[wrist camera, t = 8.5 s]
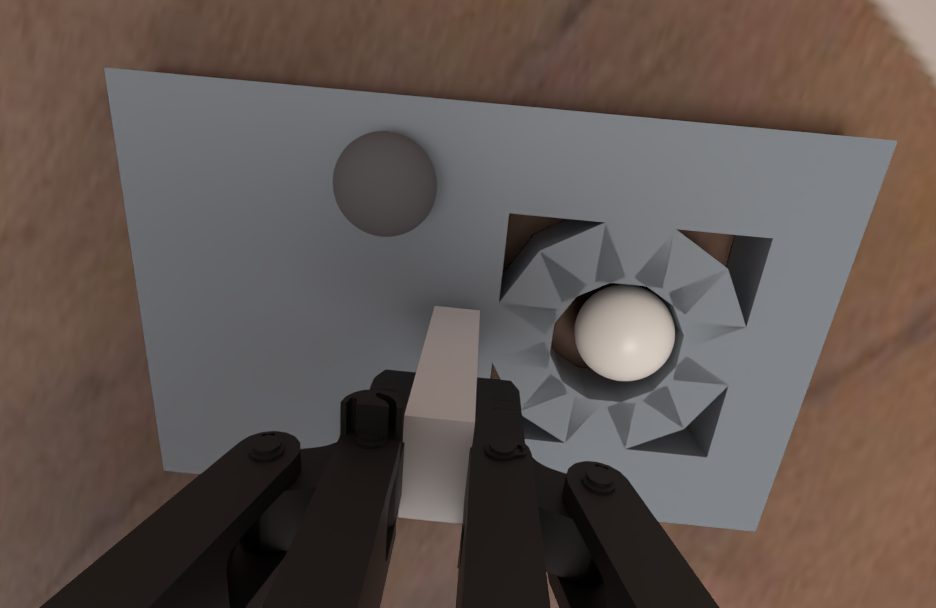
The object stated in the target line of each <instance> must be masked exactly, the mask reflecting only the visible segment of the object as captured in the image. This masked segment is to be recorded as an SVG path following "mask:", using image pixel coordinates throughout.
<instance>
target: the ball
mask: <svg viewBox="0 0 936 608" xmlns="http://www.w3.org/2000/svg"><path fill="white" fill-rule="evenodd" d="M574 337H575V343H576V347H577V349H578V352H579V354H580V356H581V357H582V359H583V360H584V362H585V363H586V364H587V365H588V366H589V367H590V368H591V369H592V370H594V371H595V372H596V373H598V374H600V375H602V376H604V377H606V378H609V379H612V380H616V381H634V380H639V379H642V378H645V377H647V376H649V375H651V374H653V373H654V372H656V371H657V370H658V369H659V368H660V367H662V366H663V364H664V363H665V362H666V360H667V359H668V358H669V356H670V354H671V352H672V349H673V346H674V341H675V326H674V322H673V318H672V316H671V314H670V312H669V310H668V308H667V307H666V305H665V304H664V303H663V302H662V301H661V300H660V298H658V297H657V296H656V295H655V294H653V293H652V292H650V291H648V290H646V289H644V288H641V287H638V286H633V285H614V286H610V287H607V288H604V289H602V290H600V291H598V292H596V293H595V294H593V295H592V296H591V297H590V298H589V299H588V300H587V301H586V302H585V303H584V304H583V306H582V307H581V309H580V311H579V313H578V315H577V318H576V321H575V327H574Z"/></svg>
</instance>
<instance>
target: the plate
mask: <svg viewBox="0 0 936 608" xmlns="http://www.w3.org/2000/svg"><path fill="white" fill-rule="evenodd" d="M104 71H105V77H106V84H107V91H108V98H109V104H110V111H111V118H112V125H113V131H114V138H115V145H116V152H117V158H118V165H119V172H120V179H121V185H122V192H123V199H124V206H125V212H126V219H127V226H128V233H129V239H130V246H131V253H132V260H133V266H134V273H135V280H136V287H137V293H138V300H139V307H140V314H141V320H142V327H143V334H144V341H145V347H146V354H147V361H148V368H149V374H150V381H151V388H152V395H153V401H154V408H155V415H156V422H157V428H158V435H159V442H160V449H161V455H162V462H163V469H164V471H172V472H181V473H191V474H201V473H203V472H204V471H205V470H206V469H207V468H209V467H210V466H211V465H212V464H213V463H215V462H216V461H217V460H218V459H219V458H221V457H222V456H223V455H224V454H225V453H227V452H228V451H229V450H230V449H232V448H233V447H234V446H235V445H236V444H238V443H239V442H240V441H242V440H244V439H245V438H247V437H248V436H251V435H254V434H257V433H260V432H267V431H280V432H287V433H289V434H291V435H293V436H295V437H296V438H297V439H298V440H299V442H300V449H305V448H314V447H321V446H326V445H330V444H333V443H336V442H337V441H338V439H339V437H340V402H341V401H342V400H343V399H344V398H345V397H346V396H347V395H349V394H352V393H354V392H357V391H361V390H370V386H371V384H372V382H373V379H374V377H376V376H377V375H378V374H380V373H381V372H383V371H384V370H385V369H387V370H397V371H406V372H416V371H417V368H418V364H419V360H420V357H421V353H422V350H423V346H424V343H425V339H426V335H427V332H428V328H429V325H430V321H431V317H432V314H433V310H434V307H435V306H441V307H451V308H461V309H471V310H480V321H479V343H478V366H477V377H479V378H489V379H490V376H491V367H492V363H493V365H494V367H495V369H496V371H497V373H498V375H499V377H500V379H501V380H509V381H512V383H513V384H514V385H515V386H516V387H517V389H518V390H519V392H520V401H521V402H520V404H521V410H522V411H521V413H522V419H523V428H524V438H525V444H526V445H527V446H528V447H529V449H530V451H531V453H532V457H533V458H534V459H535V460H536V461H537V462H539V463H541V464H542V465H544V466H546V467H549V468H551V469H554V470H557V471H560V472H563V473H566V474H567V471H568V468H569V467H571V466H572V465H574V464H575V463H578V462H583V461H592V462H599V463H603V464H606V465H609V466H611V467H613V468H614V469H616V470H618V471H620V472H621V473H622V474H623V475H624V476H625V477H626V478H627V479H628V480H629V482H630V483H631V485H632V486H633V487H634V489H635V490H636V492H637V493H638V494H639V496H640V497H641V499H642V500H643V501H644V503H645V504H646V506H647V507H648V508H649V510H650V511H651V513H652V514H653V515H654V517H655V518H656V520H657V521H658V522H668V523H677V524H687V525H697V526H707V527H716V528H726V529H736V530H746V531H755V532H756V529H757V526H758V523H759V521H760V518H761V515H762V512H763V510H764V507H765V504H766V501H767V499H768V496H769V493H770V490H771V488H772V485H773V482H774V479H775V477H776V474H777V471H778V468H779V466H780V463H781V460H782V457H783V455H784V452H785V449H786V446H787V444H788V441H789V438H790V435H791V433H792V430H793V427H794V424H795V422H796V419H797V416H798V413H799V411H800V408H801V405H802V402H803V400H804V397H805V394H806V391H807V389H808V386H809V383H810V380H811V378H812V375H813V372H814V369H815V367H816V364H817V361H818V358H819V356H820V353H821V350H822V347H823V345H824V342H825V339H826V336H827V334H828V331H829V328H830V325H831V323H832V320H833V317H834V314H835V312H836V309H837V306H838V303H839V301H840V298H841V295H842V292H843V290H844V287H845V284H846V281H847V279H848V276H849V273H850V270H851V268H852V265H853V262H854V259H855V257H856V254H857V251H858V248H859V246H860V243H861V240H862V237H863V235H864V232H865V229H866V226H867V224H868V221H869V218H870V215H871V213H872V210H873V207H874V204H875V202H876V199H877V196H878V193H879V191H880V188H881V185H882V182H883V180H884V177H885V174H886V171H887V169H888V166H889V163H890V160H891V158H892V155H893V152H894V149H895V147H896V144H897V141H894V140H883V139H872V138H862V137H851V136H840V135H829V134H818V133H808V132H797V131H786V130H775V129H764V128H753V127H743V126H732V125H721V124H710V123H699V122H689V121H678V120H667V119H656V118H645V117H635V116H624V115H613V114H602V113H591V112H581V111H570V110H559V109H548V108H537V107H527V106H516V105H505V104H494V103H483V102H472V101H462V100H451V99H440V98H429V97H418V96H408V95H397V94H386V93H375V92H364V91H354V90H343V89H332V88H321V87H310V86H300V85H289V84H278V83H267V82H256V81H246V80H235V79H224V78H213V77H202V76H191V75H181V74H170V73H159V72H148V71H137V70H127V69H116V68H105V67H104ZM376 131H389V132H395V133H399V134H402V135H404V136H406V137H408V138H410V139H412V140H413V141H415V142H416V143H417V144H418V145H419V146H420V147H421V148H422V149H423V150H424V151H425V152H426V154H427V155H428V156H429V158H430V160H431V162H432V164H433V167H434V169H435V173H436V178H437V193H436V198H435V202H434V205H433V207H432V209H431V211H430V213H429V215H428V216H427V217H426V219H425V220H424V221H423V222H422V223H421V224H420V225H419V226H417V227H416V228H415V229H413V230H411V231H409V232H407V233H405V234H402V235H398V236H392V237H380V236H375V235H371V234H368V233H366V232H364V231H362V230H360V229H358V228H357V227H355V226H354V225H353V224H352V223H351V222H350V221H348V220H347V218H346V217H345V216H344V215H343V213H342V212H341V210H340V209H339V206H338V204H337V202H336V199H335V196H334V191H333V172H334V168H335V165H336V162H337V160H338V158H339V156H340V154H341V153H342V152H343V150H344V149H345V148H346V147H347V146H348V145H349V144H350V143H351V142H352V141H353V140H355V139H357V138H358V137H360V136H362V135H365V134H367V133H371V132H376ZM509 213H511V214H522V215H532V216H543V217H553V218H564V219H567V220H565V221H562V222H560V223H558V224H556V225H553V226H551V227H549V228H546V229H544V230H542V231H540V232H537V233H535V234H534V235H533V236H532V237H531V239H530V240H529V241H528V243H527V244H526V245H525V246H524V248H523V249H522V250H521V252H520V253H519V254H518V256H517V257H516V258H515V260H514V261H513V262H512V263H511V265H510V266H509V267H508V269H507V270H506V271H505V273H504V274H503V275H502V272H503V263H504V254H505V246H506V237H507V228H508V220H509ZM676 229H679V230H689V231H700V232H710V233H721V234H731V235H735V237H734V241H733V245H732V248H731V252H730V256H729V259H728V263H727V267H725V266H724V265H722V264H721V263H720V262H718V261H717V260H716V259H714V258H713V257H712V256H711V255H709V254H708V253H707V252H705V251H704V250H703V249H701V248H700V247H699V246H697V245H696V244H695V243H693V242H692V241H691V240H690V239H688V238H687V237H686V236H684V235H683V234H682V233H680V232H679V231H678V230H676ZM609 283H618V284H628V285H639V286H647V287H648V288H650V289H651V290H652V291H654V292H655V293H656V294H657V297H658V298H660V300H661V301H662V302H663V303H664V304H665V305H666V307H667V308H668V310H669V312H670V314H671V316H672V318H673V322H674V326H675V341H674V346H673V349H672V352H671V354H670V356H669V358H668V359H667V360H666V362H665V363H664V364H663V366H662V367H660V368H659V369H658V370H657V371H656V372H654V373H653V374H651V375H649V376H647V377H645V378H642V379H639V380H634V381H616V380H612V379H609V378H606V377H604V376H602V375H600V374H598V373H596V372H595V371H594V370H592V369H590V368H580V367H577V366H575V365H574V364H572V363H571V362H569V361H568V360H566V359H565V358H563V357H562V356H560V355H559V354H557V353H556V352H554V349H553V347H552V345H551V342H552V336H553V330H554V323H555V322H556V321H557V320H558V318H559V317H560V316H561V315H562V314H563V312H564V311H565V310H566V309H567V308H568V306H569V305H570V304H571V303H572V302H573V300H574V299H575V298H576V297H577V296H579V295H582V294H584V293H587V292H589V291H592V290H594V289H597V288H599V287H601V286H604V285H606V284H609Z"/></svg>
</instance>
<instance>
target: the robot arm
mask: <svg viewBox="0 0 936 608" xmlns="http://www.w3.org/2000/svg"><path fill="white" fill-rule="evenodd" d="M479 321H480V310H471V309H461V308H451V307H441V306H435V307H434V310H433V314H432V317H431V321H430V325H429V328H428V332H427V335H426V339H425V343H424V346H423V350H422V353H421V357H420V360H419V364H418V368H417V371H416V372H406V371H397V370H387V369H385V370H384V371H383V372H381V373H380V374H378V375H377V376H376V377H374V379H373V382H372V384H371V386H370V390H361V391H357V392H354V393H352V394H349V395H347V396H346V397H345V398H344V399H343V400H342V401H341V402H340V437H339V439H338V441H337V442H336V443H333V444H330V445H326V446H321V447H314V448H305V449H300V442H299V440H298V439H297V438H296V437H295V436H293V435H291V434H289V433H287V432H280V431H267V432H260V433H257V434H254V435H251V436H248V437H247V438H245V439H244V440H242V441H240V442H239V443H238V444H236V445H235V446H234V447H233V448H232V449H230V450H229V451H228V452H227V453H225V454H224V455H223V456H222V457H221V458H219V459H218V460H217V461H216V462H215V463H213V464H212V465H211V466H210V467H209V468H207V469H206V470H205V471H204V472H203V473H201V474H200V475H199V476H198V477H197V478H195V479H194V480H193V481H192V482H190V483H189V484H188V485H187V486H186V487H184V488H183V489H182V490H181V491H180V492H178V493H177V494H176V495H175V496H174V497H172V498H171V499H170V500H169V501H168V502H166V503H165V504H164V505H163V506H162V507H160V508H159V509H158V510H157V511H155V512H154V513H153V514H152V515H151V516H149V517H148V518H147V519H146V520H145V521H143V522H142V523H141V524H140V525H139V526H137V527H136V528H135V529H134V530H133V531H131V532H130V533H129V534H128V535H127V536H125V537H124V538H123V539H122V540H121V541H119V542H118V543H117V544H116V545H114V546H113V547H112V548H111V549H110V550H108V551H107V552H106V553H105V554H104V555H102V556H101V557H100V558H99V559H98V560H96V561H95V562H94V563H93V564H92V565H90V566H89V567H88V568H87V569H86V570H84V571H83V572H82V573H81V574H79V575H78V576H77V577H76V578H75V579H73V580H72V581H71V582H70V583H69V584H67V585H66V586H65V587H64V588H63V589H61V590H60V591H59V592H58V593H57V594H55V595H54V596H53V597H52V598H51V599H49V600H48V601H47V602H46V603H44V604H43V605H42V606H41V607H40V608H261V607H262V608H380V604H381V600H382V595H383V590H384V586H385V581H386V577H387V572H388V567H389V563H390V558H391V554H392V549H393V544H394V540H395V534H396V517H397V513H398V508H399V513H398V517H399V518H409V519H418V520H428V521H438V522H448V523H458V524H462V533H461V542H460V551H459V559H458V568H459V571H458V585H457V600H456V608H550V600H549V592H548V584H547V575H546V572H547V573H548V579H549V583H550V585H551V588H552V590H553V593H554V595H555V598H556V600H557V603H558V605H559V608H719V606H718V605H717V604H716V602H715V601H714V599H713V598H712V597H711V595H710V594H709V592H708V591H707V590H706V588H705V587H704V585H703V584H702V583H701V581H700V580H699V578H698V577H697V576H696V574H695V573H694V571H693V570H692V569H691V567H690V566H689V564H688V563H687V562H686V560H685V559H684V557H683V556H682V555H681V553H680V552H679V550H678V549H677V548H676V546H675V545H674V543H673V542H672V541H671V539H670V538H669V536H668V535H667V534H666V532H665V531H664V529H663V528H662V527H661V525H660V524H659V522H658V521H657V520H656V518H655V517H654V515H653V514H652V513H651V511H650V510H649V508H648V507H647V506H646V504H645V503H644V501H643V500H642V499H641V497H640V496H639V494H638V493H637V492H636V490H635V489H634V487H633V486H632V485H631V483H630V482H629V480H628V479H627V478H626V477H625V476H624V475H623V474H622V473H621V472H620V471H618V470H616V469H614V468H613V467H611V466H609V465H606V464H603V463H599V462H592V461H583V462H578V463H575V464H574V465H572V466H571V467H569V468H568V471H567V474H566V473H563V472H560V471H557V470H554V469H551V468H549V467H546V466H544V465H542V464H541V463H539V462H537V461H536V460H535V459H534V458H533V457H532V453H531V451H530V449H529V447H528V446H527V445H526V444H525V438H524V428H523V419H522V413H521V411H522V410H521V404H520V402H521V401H520V392H519V390H518V389H517V387H516V386H515V385H514V384H513V383H512V381H509V380H499V379H489V378H479V377H477V366H478V343H479Z"/></svg>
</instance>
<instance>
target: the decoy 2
mask: <svg viewBox="0 0 936 608" xmlns="http://www.w3.org/2000/svg"><path fill="white" fill-rule="evenodd" d="M333 191H334V196H335V199H336V202H337V204H338V206H339V209H340V210H341V212H342V213H343V215H344V216H345V217H346V218H347V220H348V221H350V222H351V223H352V224H353V225H354V226H355V227H357V228H358V229H360V230H362V231H364V232H366V233H368V234H371V235H375V236H380V237H392V236H398V235H402V234H405V233H407V232H409V231H411V230H413V229H415V228H416V227H417V226H419V225H420V224H421V223H422V222H423V221H424V220H425V219H426V217H427V216H428V215H429V213H430V211H431V209H432V207H433V205H434V202H435V198H436V193H437V178H436V173H435V169H434V167H433V164H432V162H431V160H430V158H429V156H428V155H427V154H426V152H425V151H424V150H423V149H422V148H421V147H420V146H419V145H418V144H417V143H416V142H415V141H413V140H412V139H410V138H408V137H406V136H404V135H402V134H399V133H395V132H389V131H376V132H371V133H367V134H365V135H362V136H360V137H358V138H357V139H355V140H353V141H352V142H351V143H350V144H349V145H348V146H347V147H346V148H345V149H344V150H343V152H342V153H341V154H340V156H339V158H338V160H337V162H336V165H335V168H334V172H333Z"/></svg>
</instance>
